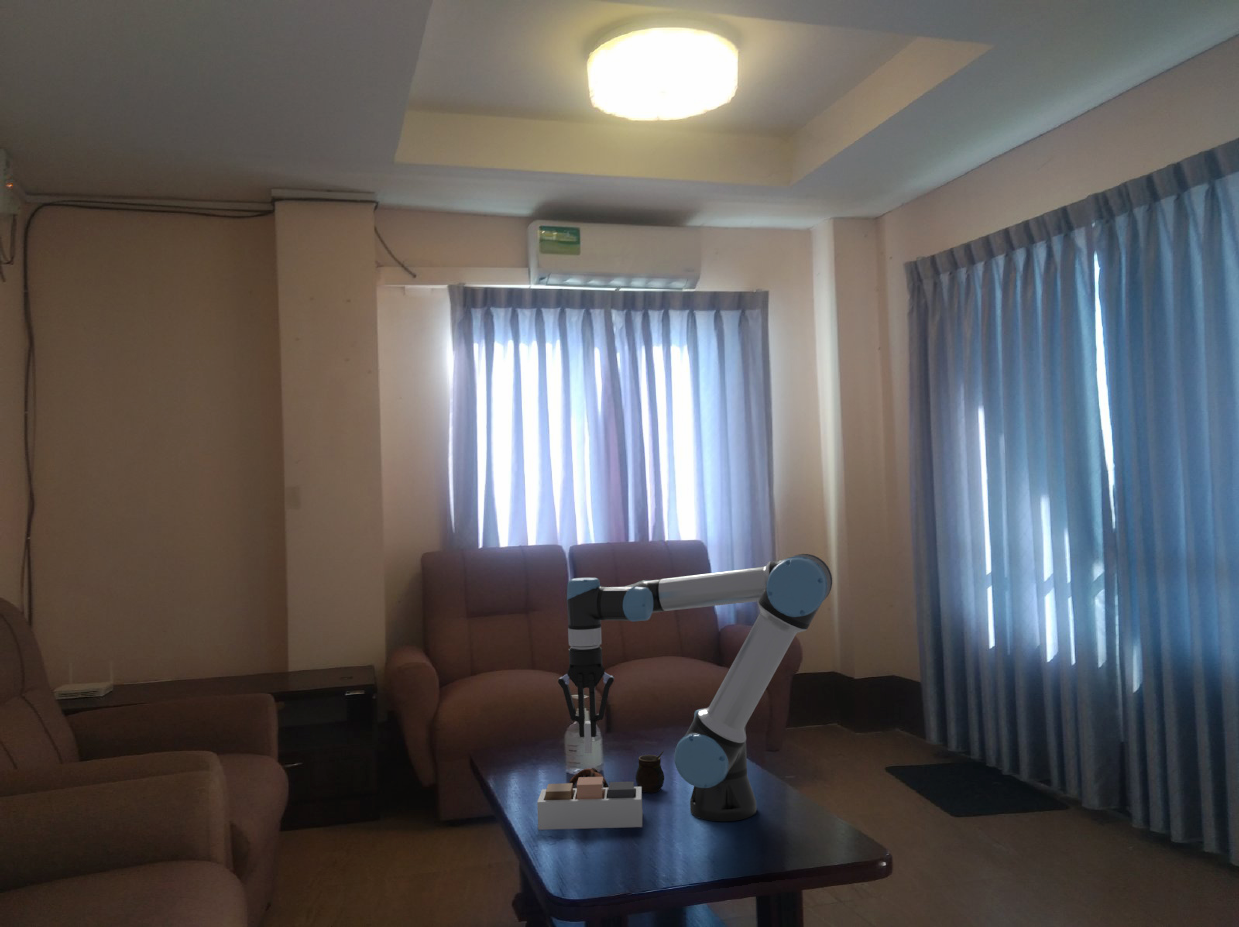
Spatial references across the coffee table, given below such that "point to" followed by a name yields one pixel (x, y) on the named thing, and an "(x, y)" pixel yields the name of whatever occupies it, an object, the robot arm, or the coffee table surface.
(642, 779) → the mate gourd
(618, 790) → the black rubber key
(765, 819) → the coffee table surface
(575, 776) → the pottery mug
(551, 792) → the walnut key
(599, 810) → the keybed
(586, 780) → the terracotta key
